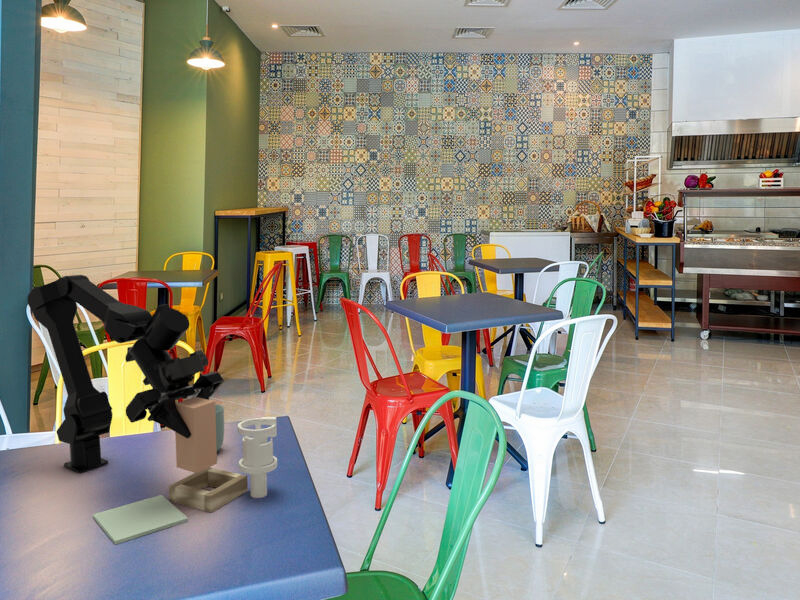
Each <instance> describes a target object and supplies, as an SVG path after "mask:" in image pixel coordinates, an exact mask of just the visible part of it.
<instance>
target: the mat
mask: <svg viewBox="0 0 800 600" xmlns="http://www.w3.org/2000/svg"><path fill="white" fill-rule="evenodd" d="M92 519H93V520H94V521H95V522H96V523H97V524H98V525H99V527H100V528H101V529H102V530H103V532H104V533H105V534H106V535H107V537H108V538H109V539H110V540H111V541H112V542H113V544H114V545H118V544H122V543H125V542H127V541H130V540H134V539H137V538H140V537H144V536H146V535H149V534H152V533H156V532H159V531H162V530H165V529H168V528H170V527H171V528H172V527H174V526H178V525H181V524H183V523H187V522H189V518H188V517H187V516H186V515H185V514H184V513H183V512H182V511H181V510H180V509H178V508H177V507H176V506H175V505H174V504H172V502H170V501H169V499H167V498H166V497H165V496H164V495H162V494H160V495H156V496H152V497H148V498H145V499H142V500H138V501H135V502H132V503H127V504H125V505H121V506H118V507H114V508H110V509H107V510H104V511H99V512H97V513H94V514H92Z"/></svg>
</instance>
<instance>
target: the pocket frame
mask: <svg viewBox="0 0 800 600" xmlns="http://www.w3.org/2000/svg"><path fill="white" fill-rule="evenodd" d="M209 486H210V487H214V489H212V490H210V491H209V490H205V489H204V488H206V487H209ZM248 490H249V489H248V475H245V474H241V473H235V472H232V471H228V470H224V469H218V468H214V467H209V468H206V469H204V470H202V471H200V472H198V473H194V472H193V473H191V474H190V475H188V476H186V477H184V478H181V479H180V480H177V481H176V482H174V483H172V484H170V485H168V491H169V492H168V498H169V499H168V501H169V502H170V503H174V504H178V505H183V506H186V507H189V508H193V509H196V510H197V509H198V510H201V511H203V512H208V513H213V512H214V511H216V510H218V509H220V508H222V507H223V506H224V505H227V504H228V503H229V502H231V501H233V500H235V499H237V498H238V497H240V496H241V495H244V494H245V493H247V492H249V491H248Z"/></svg>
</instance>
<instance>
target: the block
mask: <svg viewBox="0 0 800 600" xmlns="http://www.w3.org/2000/svg"><path fill="white" fill-rule="evenodd" d="M215 404H216V400H212V399H209V400H207V399H203V398H198V397H194V398H191V399H188V398H187V399H185V400H182V401H179V402H176V408H177V410H178V412H179V414H180V415H181V417H182V418H183V420H184V422H185V423H186V425H187V427H188V428H189V430H190V433H191V436H190V437H189V438H186V437H184V436H182V435H180V434H178V433H177V432H175V431H174V432H175V434H174V435H175V459H176V460H175V461H176V468H178V469H181V470H185V471H187V472H190V473H193V474H194V473H198V472H200V471H202V470H204V469H206V468H209V467H210V468H212V467H213V466H215V465H217V464H218V454H217V453H218V451H217V448H216V413H215Z"/></svg>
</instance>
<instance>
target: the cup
mask: <svg viewBox="0 0 800 600" xmlns="http://www.w3.org/2000/svg"><path fill="white" fill-rule="evenodd" d="M215 413H216V448H217V452H218V451H220V449H221V448H222V446H223V444H224V439H225V438H224V437H225V408H224V405H221V404H219V403H215Z"/></svg>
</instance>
